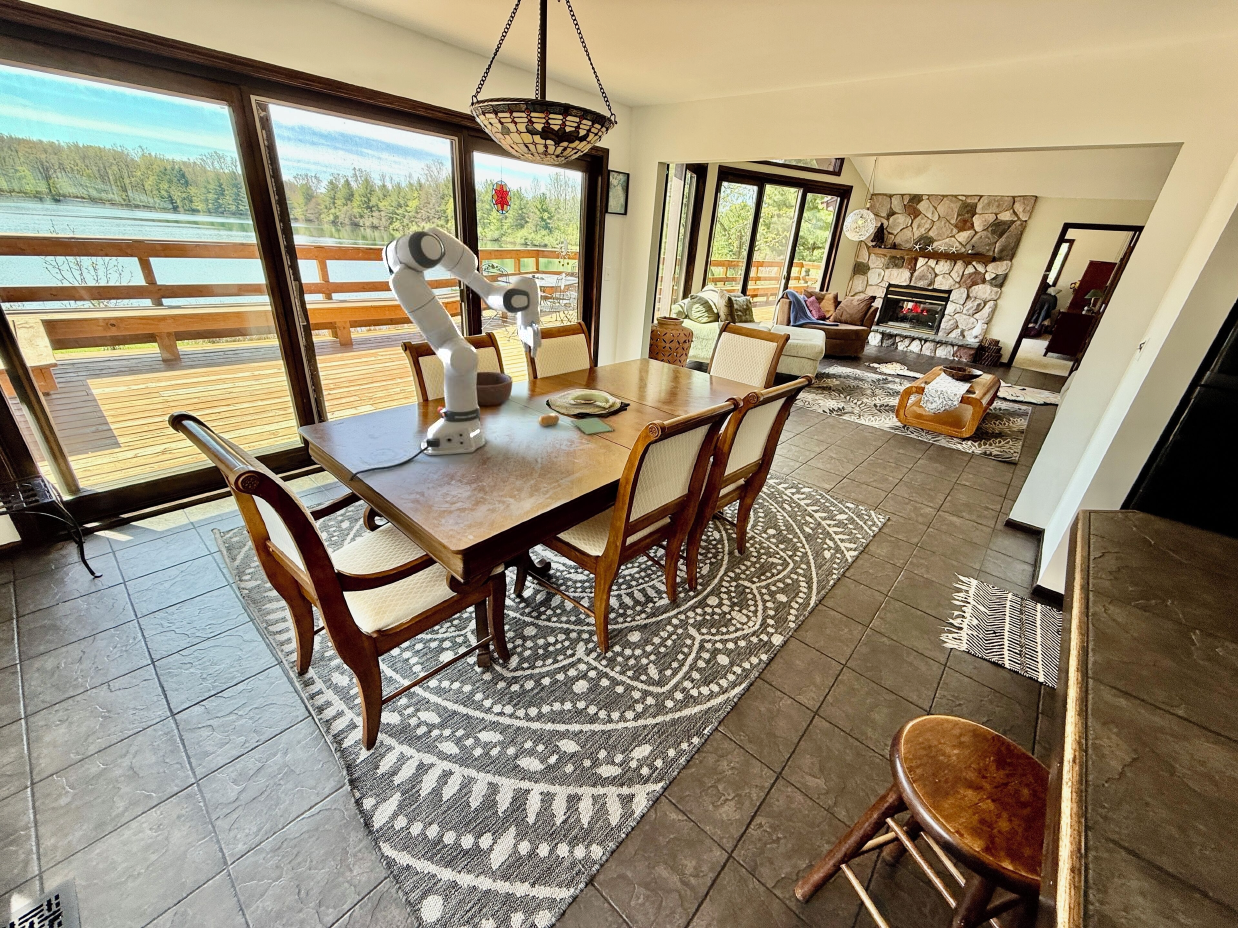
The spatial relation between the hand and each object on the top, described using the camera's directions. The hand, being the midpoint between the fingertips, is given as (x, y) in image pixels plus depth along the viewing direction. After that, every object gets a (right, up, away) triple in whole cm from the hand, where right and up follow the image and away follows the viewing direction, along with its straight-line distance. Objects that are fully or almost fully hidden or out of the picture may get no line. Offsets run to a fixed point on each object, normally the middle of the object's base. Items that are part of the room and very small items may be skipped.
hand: (530, 354), depth 197 cm
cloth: (+25, -29, +5) cm, 39 cm away
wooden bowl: (-26, -15, +29) cm, 41 cm away
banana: (+24, -19, +26) cm, 40 cm away
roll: (+9, -27, +1) cm, 29 cm away
